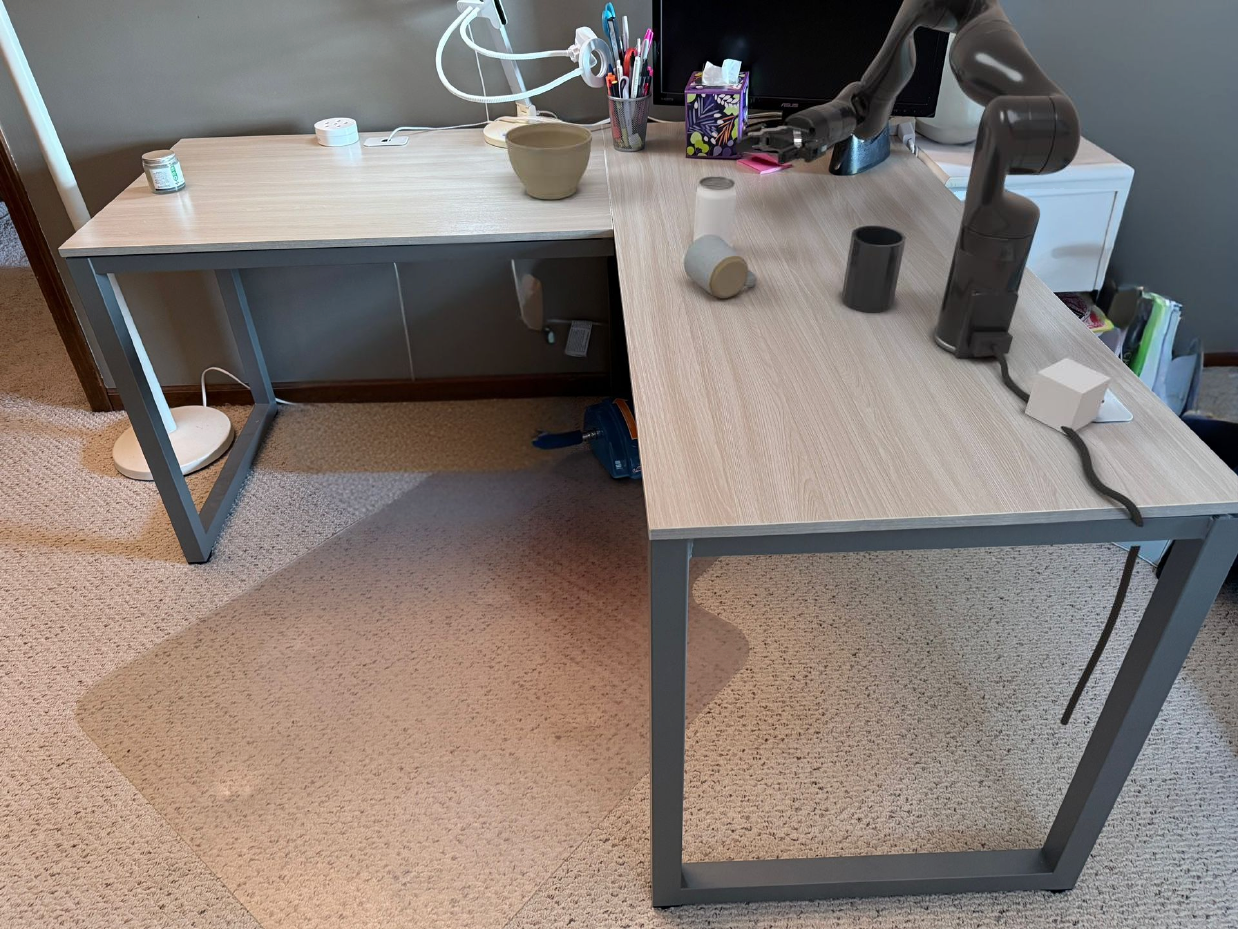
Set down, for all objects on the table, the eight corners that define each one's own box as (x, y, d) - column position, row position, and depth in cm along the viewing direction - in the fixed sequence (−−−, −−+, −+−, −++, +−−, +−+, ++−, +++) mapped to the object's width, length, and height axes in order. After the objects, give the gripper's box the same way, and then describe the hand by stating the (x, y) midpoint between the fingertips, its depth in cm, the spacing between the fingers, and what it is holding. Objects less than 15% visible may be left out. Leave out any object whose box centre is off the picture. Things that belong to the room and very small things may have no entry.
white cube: (1052, 398, 117) (1066, 357, 113) (1095, 419, 113) (1111, 378, 109) (1024, 413, 114) (1037, 372, 111) (1067, 435, 110) (1082, 393, 107)
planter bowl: (605, 200, 172) (604, 141, 165) (523, 212, 167) (519, 152, 160) (576, 172, 184) (575, 117, 177) (499, 183, 179) (494, 126, 172)
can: (729, 262, 150) (735, 190, 142) (690, 258, 151) (694, 187, 144) (733, 246, 155) (739, 176, 148) (695, 243, 156) (699, 173, 149)
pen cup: (898, 312, 136) (912, 245, 129) (848, 313, 135) (859, 246, 129) (884, 289, 142) (897, 225, 135) (836, 290, 142) (846, 225, 135)
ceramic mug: (709, 305, 137) (713, 258, 133) (681, 284, 143) (684, 238, 138) (767, 292, 141) (772, 245, 137) (737, 271, 147) (742, 226, 142)
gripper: (781, 101, 162) (725, 120, 152) (851, 116, 154) (797, 138, 144) (776, 143, 166) (722, 165, 157) (844, 161, 158) (791, 185, 149)
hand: (758, 152), depth 151 cm, fingers open, 8 cm apart
